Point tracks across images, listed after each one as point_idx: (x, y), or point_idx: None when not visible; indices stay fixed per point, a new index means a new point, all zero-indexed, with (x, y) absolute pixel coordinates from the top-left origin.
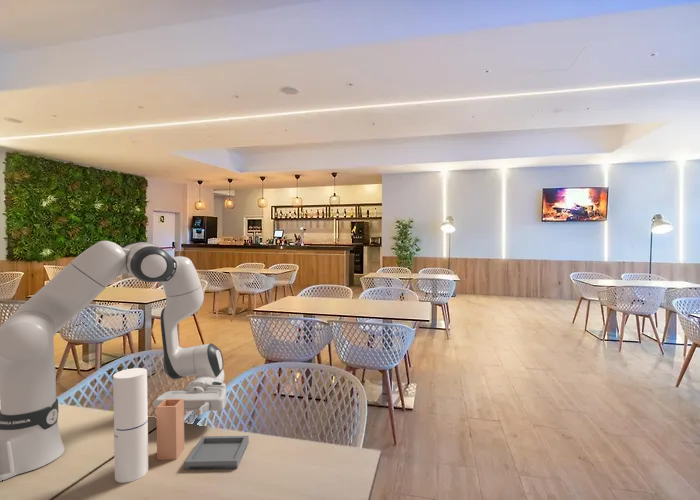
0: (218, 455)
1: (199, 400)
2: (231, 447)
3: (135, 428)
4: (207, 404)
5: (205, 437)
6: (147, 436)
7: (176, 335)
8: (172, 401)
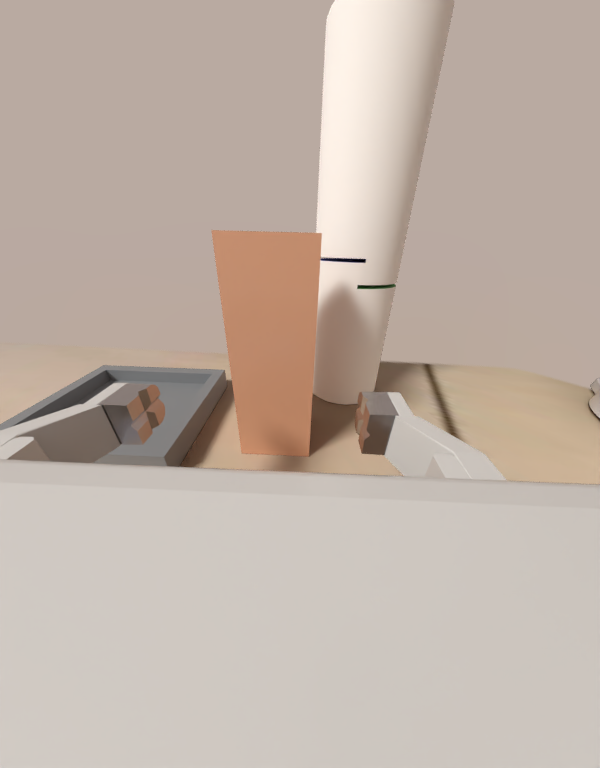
0: None
1: (50, 461)
2: None
3: (326, 258)
4: (11, 429)
5: (151, 448)
6: None
7: None
8: (274, 243)
